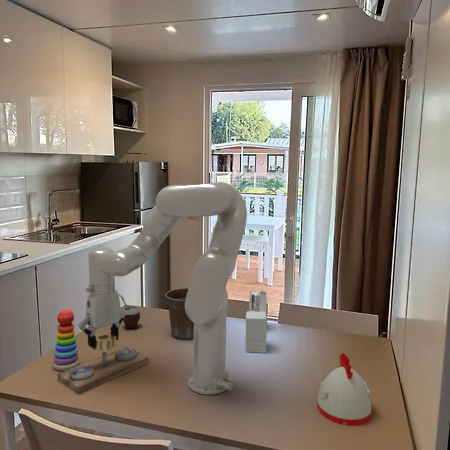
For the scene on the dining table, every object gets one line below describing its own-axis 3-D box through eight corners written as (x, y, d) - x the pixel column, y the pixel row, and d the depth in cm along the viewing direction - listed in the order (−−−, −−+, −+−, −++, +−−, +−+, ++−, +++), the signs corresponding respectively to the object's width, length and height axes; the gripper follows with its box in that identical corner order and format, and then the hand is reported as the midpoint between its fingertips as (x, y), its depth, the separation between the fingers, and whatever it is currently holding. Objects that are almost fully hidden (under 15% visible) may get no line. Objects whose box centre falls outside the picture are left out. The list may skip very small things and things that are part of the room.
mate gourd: (143, 326, 166) (143, 290, 164) (129, 333, 160) (128, 295, 158) (130, 322, 170) (129, 287, 168) (116, 329, 164) (115, 292, 162)
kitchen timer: (360, 395, 118) (363, 345, 116) (379, 425, 104) (383, 369, 102) (311, 395, 117) (313, 345, 115) (325, 425, 103) (327, 369, 101)
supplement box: (266, 344, 151) (266, 311, 149) (266, 353, 143) (266, 318, 142) (245, 343, 151) (246, 310, 150) (244, 352, 144) (245, 317, 142)
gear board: (148, 363, 136) (148, 345, 135) (79, 394, 117) (78, 374, 116) (126, 352, 143) (125, 335, 142) (57, 379, 124) (56, 361, 123)
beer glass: (260, 333, 160) (261, 296, 158) (245, 329, 164) (246, 293, 162) (269, 328, 166) (270, 292, 164) (254, 324, 170) (255, 289, 168)
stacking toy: (70, 373, 128) (68, 315, 126) (47, 370, 130) (44, 313, 127) (84, 361, 136) (82, 307, 133) (62, 359, 138) (59, 305, 135)
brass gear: (120, 345, 129) (120, 336, 129) (100, 353, 124) (100, 344, 123) (107, 339, 134) (106, 330, 133) (86, 346, 128) (86, 337, 128)
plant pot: (160, 329, 164) (160, 290, 162) (198, 323, 171) (198, 285, 168) (173, 345, 149) (172, 302, 147) (214, 338, 156) (214, 296, 154)
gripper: (83, 297, 117) (85, 356, 120) (133, 284, 130) (133, 337, 133) (69, 292, 122) (71, 348, 124) (118, 280, 135) (119, 331, 138)
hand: (103, 342), depth 129 cm, fingers closed on brass gear, 7 cm apart
